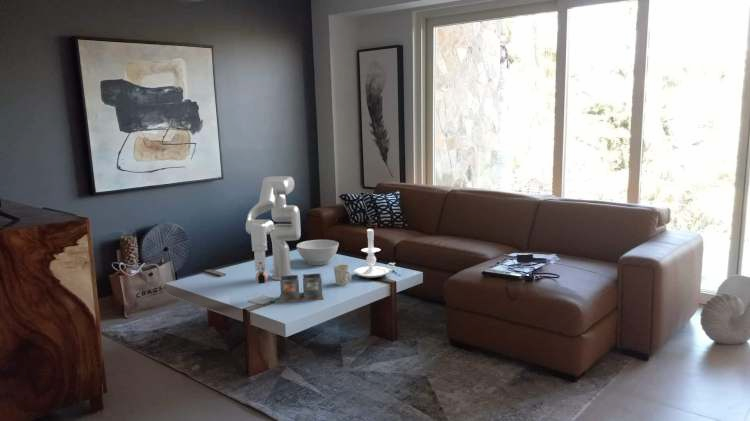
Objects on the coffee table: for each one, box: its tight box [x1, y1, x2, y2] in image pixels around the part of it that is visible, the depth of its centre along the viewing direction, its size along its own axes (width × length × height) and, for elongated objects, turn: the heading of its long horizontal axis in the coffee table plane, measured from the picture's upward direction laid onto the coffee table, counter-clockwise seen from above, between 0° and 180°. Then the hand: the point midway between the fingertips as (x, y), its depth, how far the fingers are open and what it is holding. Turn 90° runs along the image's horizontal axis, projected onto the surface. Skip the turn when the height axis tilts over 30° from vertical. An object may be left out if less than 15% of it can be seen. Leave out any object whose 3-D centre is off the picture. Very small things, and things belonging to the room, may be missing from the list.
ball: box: [255, 271, 269, 282], centre depth 302 cm, size 6×6×6 cm
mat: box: [247, 294, 279, 305], centre depth 303 cm, size 11×11×1 cm
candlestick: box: [353, 228, 396, 279], centre depth 340 cm, size 21×25×28 cm
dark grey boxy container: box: [279, 272, 324, 303], centre depth 305 cm, size 22×11×11 cm, turn 99°
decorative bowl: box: [296, 239, 339, 266], centre depth 376 cm, size 27×27×12 cm
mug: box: [333, 263, 352, 286], centre depth 327 cm, size 8×13×10 cm, turn 44°
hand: (262, 280), depth 302 cm, fingers closed on ball, 5 cm apart
